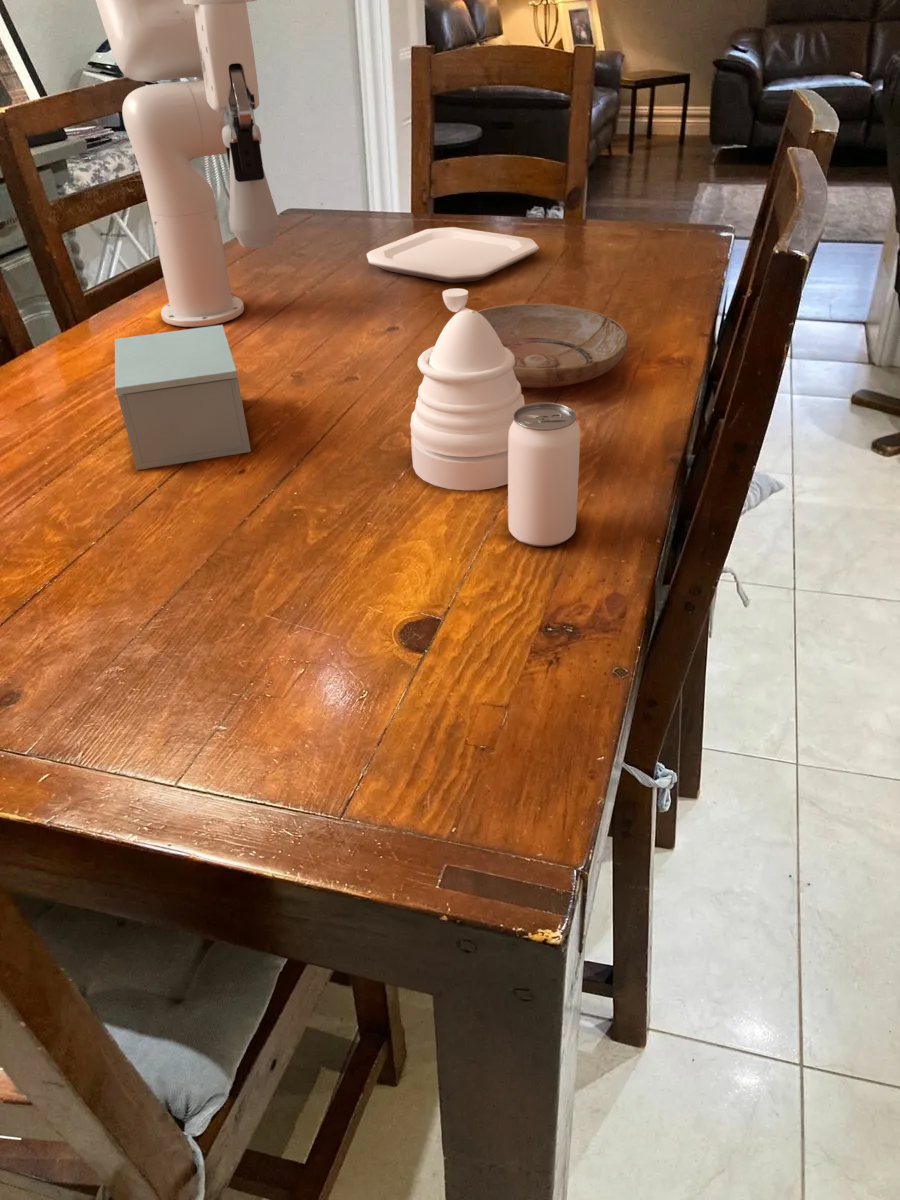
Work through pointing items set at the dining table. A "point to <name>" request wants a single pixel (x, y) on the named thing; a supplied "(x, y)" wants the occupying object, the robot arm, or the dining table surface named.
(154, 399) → the chest
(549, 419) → the can
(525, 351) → the ceramic bowl
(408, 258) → the plate
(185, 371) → the lid
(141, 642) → the dining table surface
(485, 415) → the honey pot
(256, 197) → the salt shaker
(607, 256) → the dining table surface
